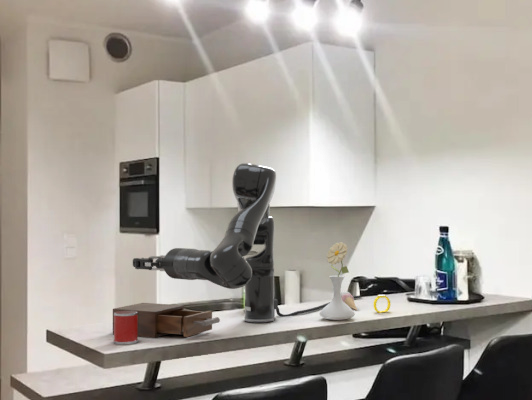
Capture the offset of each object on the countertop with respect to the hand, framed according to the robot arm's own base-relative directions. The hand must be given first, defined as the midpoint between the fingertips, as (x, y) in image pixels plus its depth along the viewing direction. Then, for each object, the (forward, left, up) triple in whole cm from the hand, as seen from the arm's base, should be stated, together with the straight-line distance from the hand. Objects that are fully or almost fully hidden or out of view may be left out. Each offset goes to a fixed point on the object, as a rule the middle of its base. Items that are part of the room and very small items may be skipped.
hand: (148, 261), depth 182 cm
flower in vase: (-60, +28, -22) cm, 70 cm away
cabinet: (-18, -14, -22) cm, 32 cm away
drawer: (-18, -1, -21) cm, 28 cm away
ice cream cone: (-87, +22, -22) cm, 93 cm away
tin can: (-3, -10, -22) cm, 24 cm away
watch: (-80, +36, -22) cm, 91 cm away
